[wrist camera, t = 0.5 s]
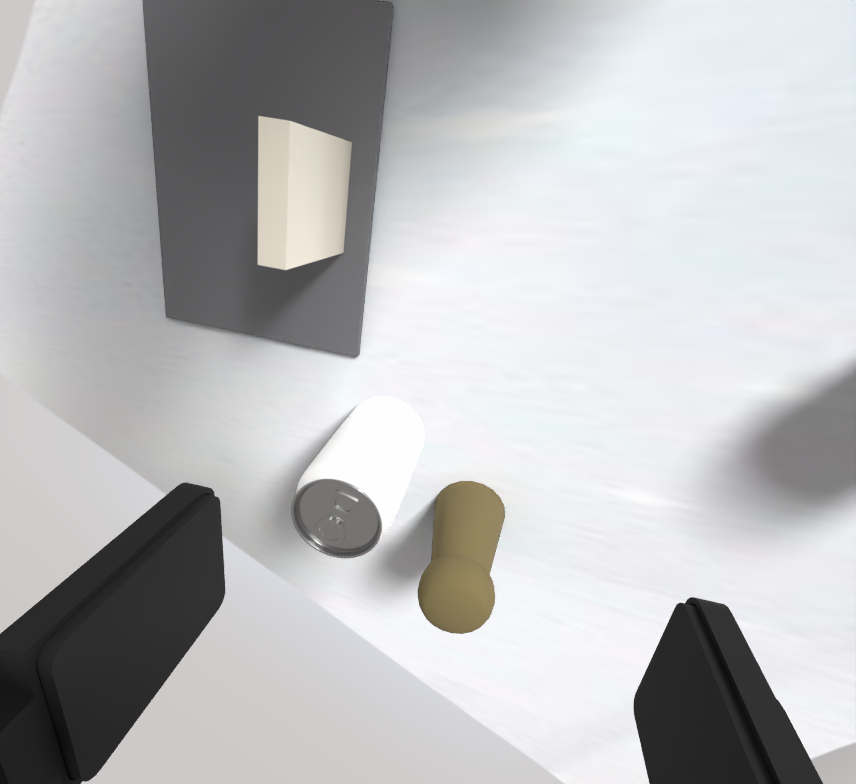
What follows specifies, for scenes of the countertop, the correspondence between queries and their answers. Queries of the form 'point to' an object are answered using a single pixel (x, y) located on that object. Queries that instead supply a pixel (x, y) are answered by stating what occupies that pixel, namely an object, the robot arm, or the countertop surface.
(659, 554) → the countertop surface
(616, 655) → the countertop surface
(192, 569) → the robot arm
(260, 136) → the tile
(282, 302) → the mat
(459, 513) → the cork
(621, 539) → the countertop surface
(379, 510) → the can
